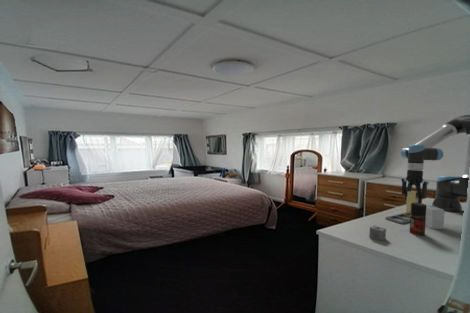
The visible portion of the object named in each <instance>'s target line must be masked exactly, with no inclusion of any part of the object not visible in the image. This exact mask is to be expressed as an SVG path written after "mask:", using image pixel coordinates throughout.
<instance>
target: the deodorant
mask: <svg viewBox="0 0 470 313" xmlns="http://www.w3.org/2000/svg"><path fill="white" fill-rule="evenodd" d="M426 206H428V205H427V204H425V203H423V202H422V203H411V215H410V218H409V219H410V222H409V233H410V234H412V235H415V236H419V237H420V236H421V237H422V236H425V235H426V225H425V222H426Z"/></svg>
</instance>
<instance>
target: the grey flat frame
mask: <svg viewBox="0 0 470 313" xmlns="http://www.w3.org/2000/svg"><path fill="white" fill-rule="evenodd" d="M410 216H411V214H407V213H406V211H405V212H401V213H398V214H394V215H389V216H385V220H387V221H391V222H395V223H396V224H399V225H400V224H401V225H404V224H408V223H409V224H410Z"/></svg>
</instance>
